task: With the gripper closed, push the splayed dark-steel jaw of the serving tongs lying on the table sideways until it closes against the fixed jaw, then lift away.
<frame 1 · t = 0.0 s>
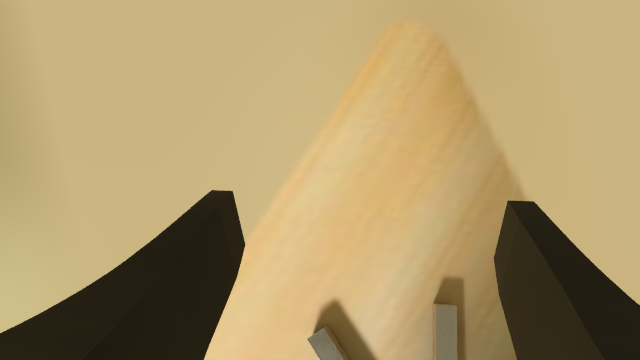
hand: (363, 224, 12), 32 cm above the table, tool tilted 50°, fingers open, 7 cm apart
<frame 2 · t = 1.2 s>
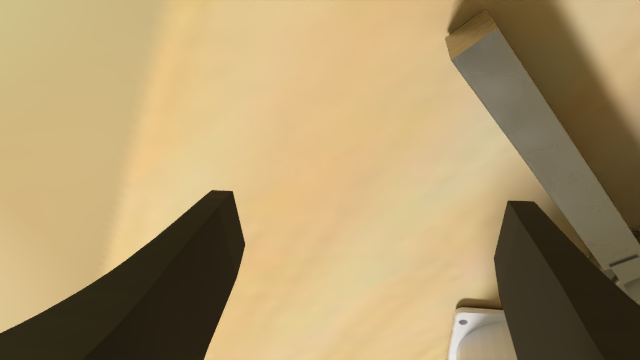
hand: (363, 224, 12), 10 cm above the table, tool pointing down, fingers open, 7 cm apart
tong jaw: (571, 182, 19), point 2 cm above the table, hinge at 38.0°
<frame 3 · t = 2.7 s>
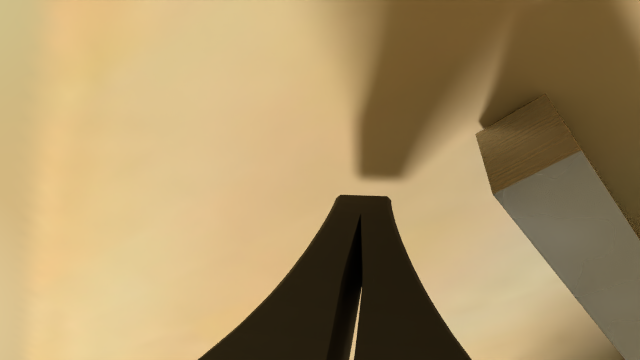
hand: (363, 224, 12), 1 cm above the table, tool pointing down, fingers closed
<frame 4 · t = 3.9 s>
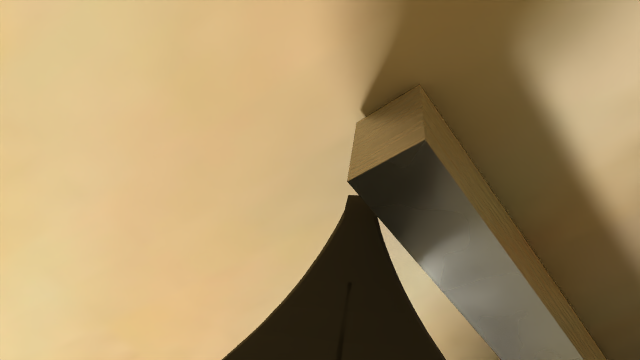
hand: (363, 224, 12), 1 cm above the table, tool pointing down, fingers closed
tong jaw: (545, 340, 13), point 2 cm above the table, hinge at 34.8°, touching gripper
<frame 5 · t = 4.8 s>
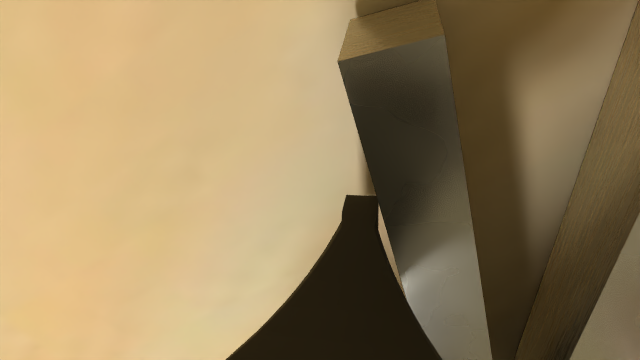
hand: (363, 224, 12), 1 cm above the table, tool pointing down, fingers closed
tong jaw: (450, 311, 13), point 1 cm above the table, hinge at 13.7°, touching gripper
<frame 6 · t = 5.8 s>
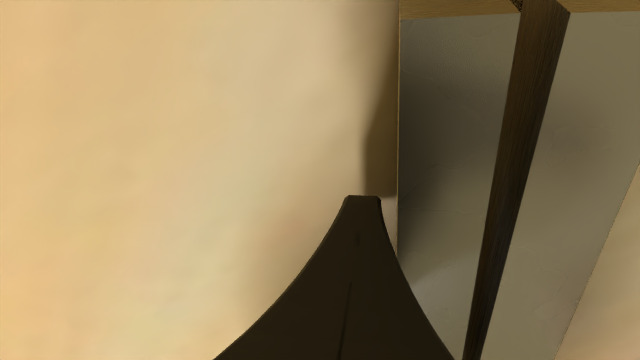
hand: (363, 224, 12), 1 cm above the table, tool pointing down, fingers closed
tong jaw: (427, 304, 13), point 1 cm above the table, hinge at 1.5°, touching gripper
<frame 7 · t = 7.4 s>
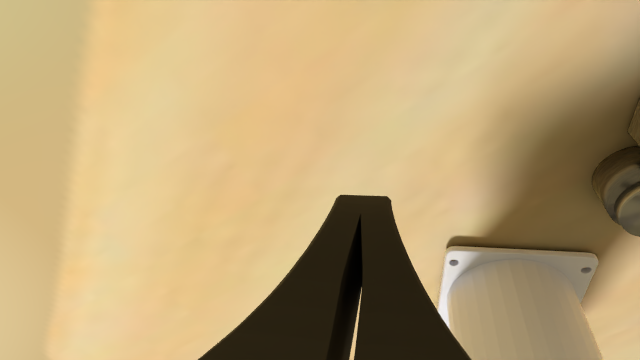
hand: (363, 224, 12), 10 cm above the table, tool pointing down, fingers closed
tongs base: (629, 175, 21), on the table
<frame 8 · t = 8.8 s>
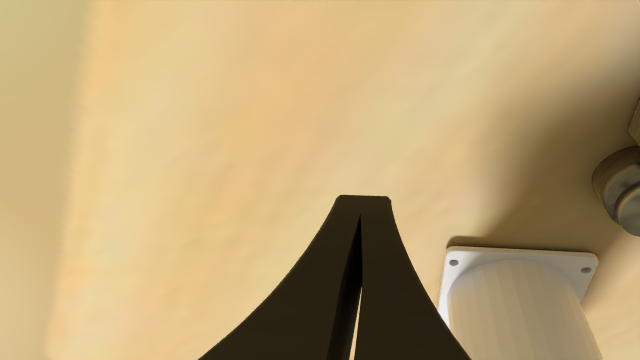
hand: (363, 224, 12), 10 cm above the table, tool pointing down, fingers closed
tongs base: (629, 175, 21), on the table
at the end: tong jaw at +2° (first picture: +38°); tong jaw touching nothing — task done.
